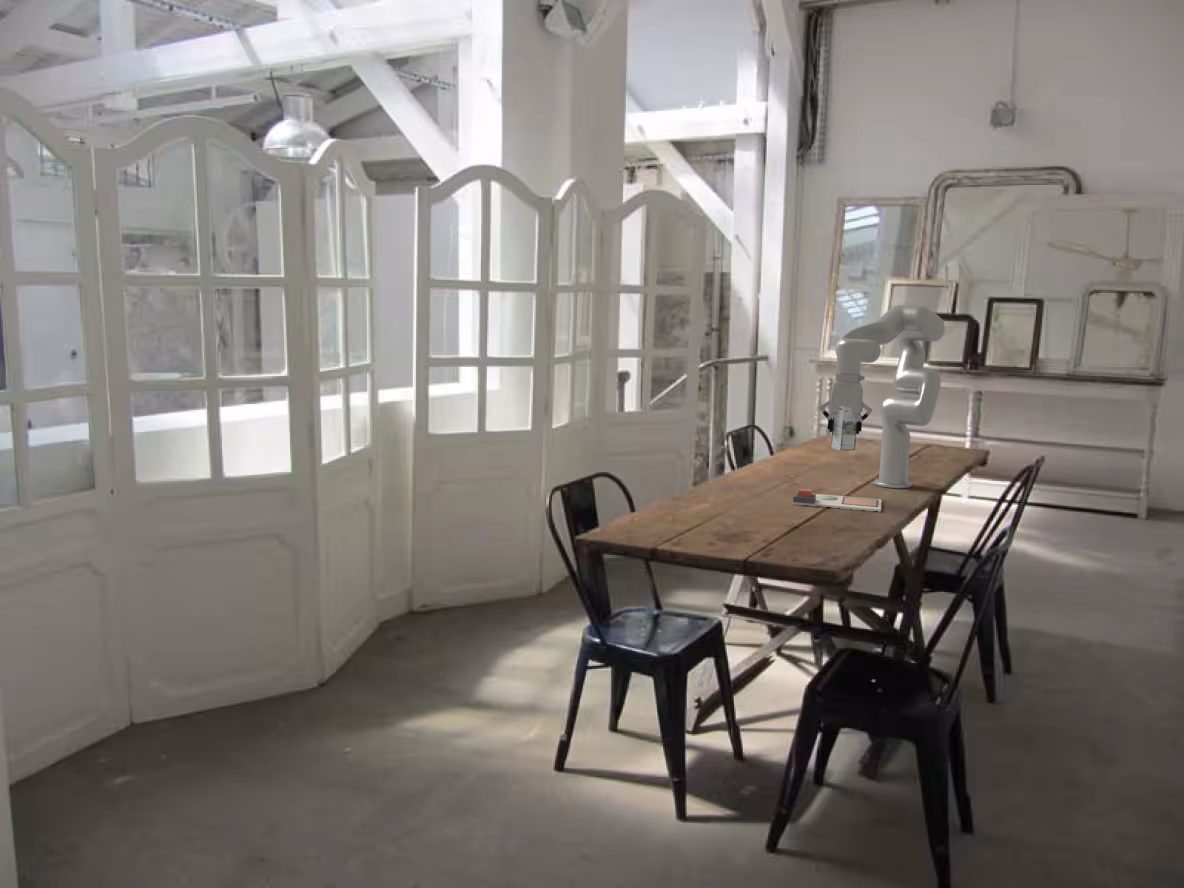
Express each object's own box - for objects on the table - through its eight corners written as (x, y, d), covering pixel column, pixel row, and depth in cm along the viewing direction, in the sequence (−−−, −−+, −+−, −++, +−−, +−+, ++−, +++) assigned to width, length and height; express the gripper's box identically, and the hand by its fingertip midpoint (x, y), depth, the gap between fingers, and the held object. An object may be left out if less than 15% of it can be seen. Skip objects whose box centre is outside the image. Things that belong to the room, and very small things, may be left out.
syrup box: (845, 447, 323) (848, 403, 320) (855, 450, 317) (858, 406, 315) (830, 448, 321) (833, 404, 318) (840, 451, 315) (843, 406, 313)
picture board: (796, 494, 326) (797, 487, 325) (881, 501, 318) (881, 493, 318) (792, 504, 311) (792, 496, 310) (880, 512, 303) (881, 503, 303)
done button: (799, 494, 315) (799, 488, 315) (811, 495, 314) (812, 489, 314) (797, 496, 311) (798, 490, 311) (810, 497, 310) (811, 491, 310)
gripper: (876, 379, 316) (872, 433, 319) (821, 376, 322) (818, 429, 324) (875, 381, 309) (871, 436, 312) (818, 378, 314) (815, 432, 317)
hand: (844, 432), depth 318 cm, fingers closed on syrup box, 8 cm apart
